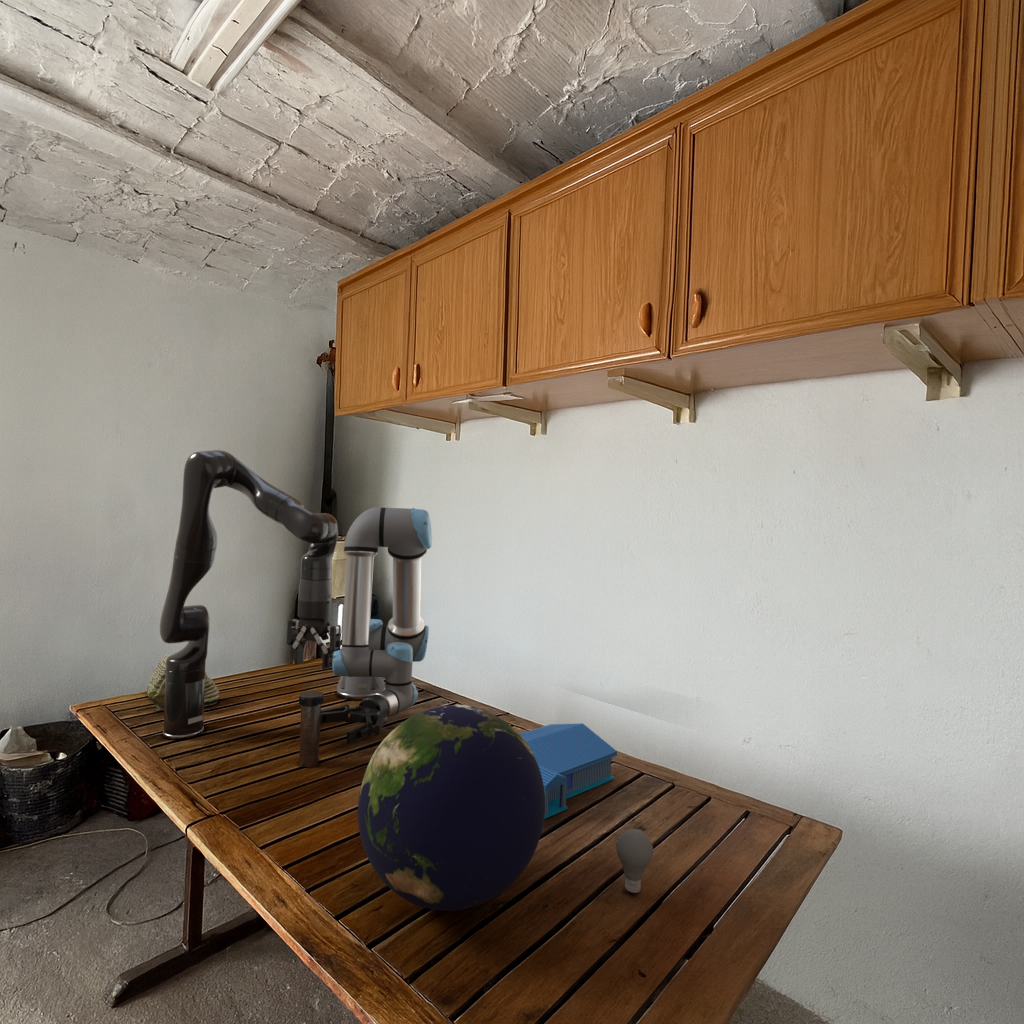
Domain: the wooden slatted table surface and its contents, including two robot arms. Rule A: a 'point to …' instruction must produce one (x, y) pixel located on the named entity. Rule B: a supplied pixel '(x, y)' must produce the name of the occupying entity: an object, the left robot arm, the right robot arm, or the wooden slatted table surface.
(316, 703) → the lid
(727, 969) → the wooden slatted table surface
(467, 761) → the globe
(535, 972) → the wooden slatted table surface
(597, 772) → the model building
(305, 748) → the jar
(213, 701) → the fossil
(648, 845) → the light bulb
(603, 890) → the wooden slatted table surface
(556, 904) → the wooden slatted table surface
